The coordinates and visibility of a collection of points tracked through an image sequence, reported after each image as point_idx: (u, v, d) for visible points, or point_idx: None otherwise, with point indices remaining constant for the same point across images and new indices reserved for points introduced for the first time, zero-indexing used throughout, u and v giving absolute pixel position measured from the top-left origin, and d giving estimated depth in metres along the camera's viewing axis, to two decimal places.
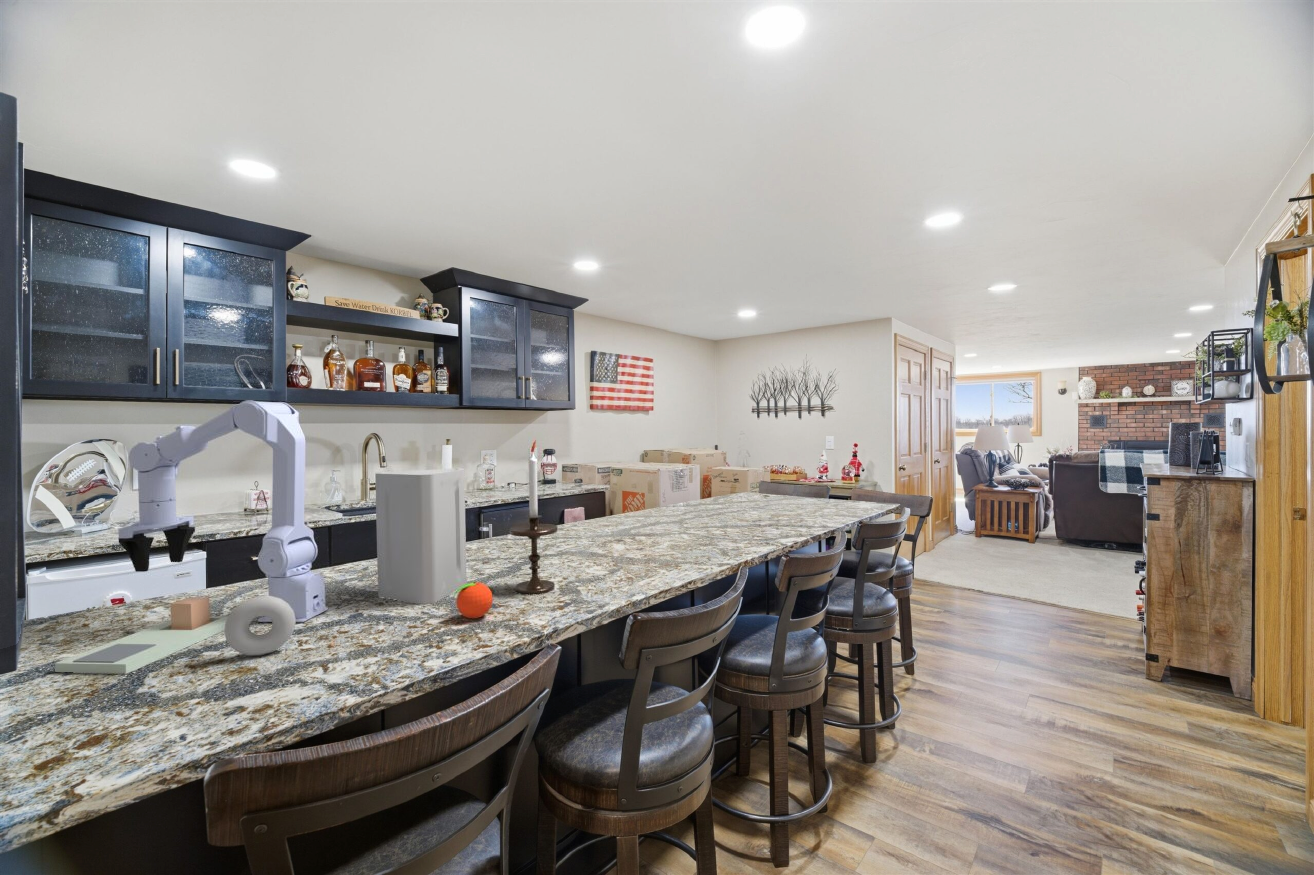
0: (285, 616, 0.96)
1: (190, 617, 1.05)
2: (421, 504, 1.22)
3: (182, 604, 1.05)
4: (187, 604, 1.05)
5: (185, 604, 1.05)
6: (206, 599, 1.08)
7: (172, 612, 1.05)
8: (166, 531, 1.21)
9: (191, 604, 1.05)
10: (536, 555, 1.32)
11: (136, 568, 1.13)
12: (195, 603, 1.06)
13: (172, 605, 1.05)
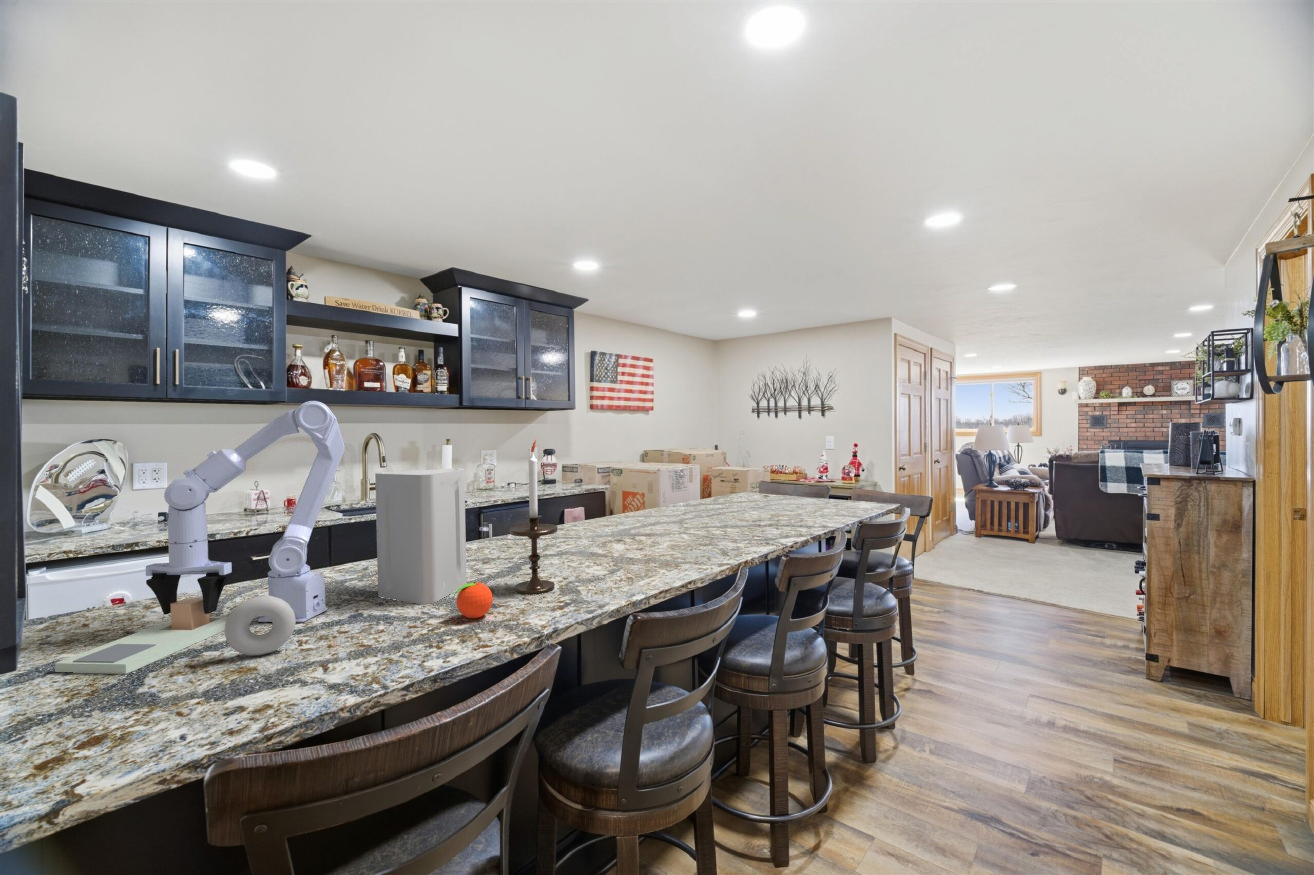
0: (286, 616, 0.96)
1: (190, 617, 1.05)
2: (421, 504, 1.22)
3: (182, 604, 1.05)
4: (187, 604, 1.05)
5: (185, 604, 1.05)
6: None
7: (172, 612, 1.05)
8: None
9: (191, 604, 1.05)
10: (536, 555, 1.32)
11: None
12: (195, 603, 1.06)
13: (172, 605, 1.05)
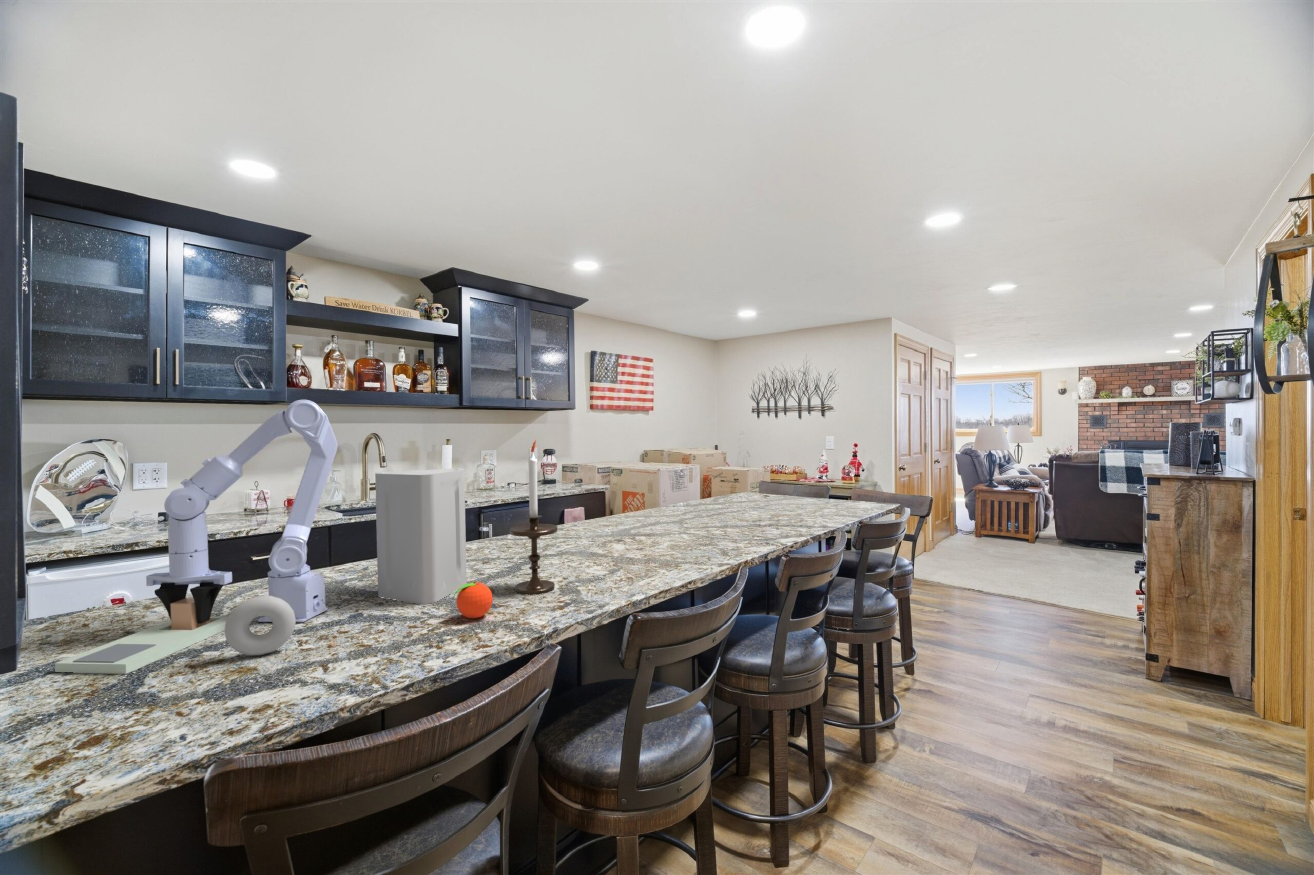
0: (285, 616, 0.96)
1: (190, 617, 1.05)
2: (421, 504, 1.22)
3: (182, 604, 1.05)
4: (187, 604, 1.05)
5: (185, 604, 1.05)
6: None
7: (172, 612, 1.05)
8: None
9: (191, 604, 1.05)
10: (536, 555, 1.32)
11: None
12: None
13: (172, 605, 1.05)
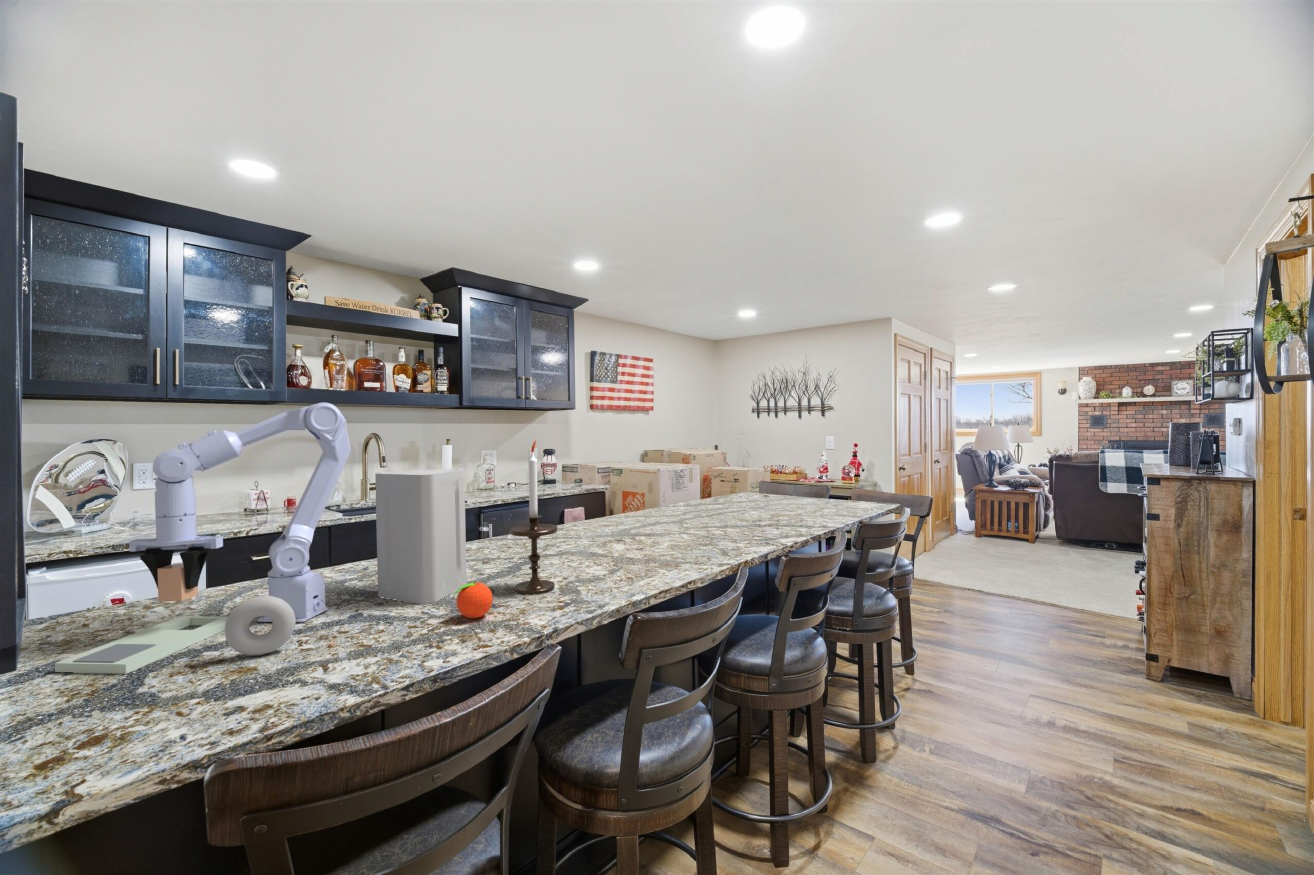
0: (285, 616, 0.96)
1: (180, 582, 1.03)
2: (421, 504, 1.22)
3: (171, 569, 1.03)
4: (176, 569, 1.03)
5: (174, 569, 1.03)
6: None
7: (159, 577, 1.03)
8: None
9: (181, 568, 1.03)
10: (536, 555, 1.32)
11: None
12: None
13: (159, 570, 1.03)
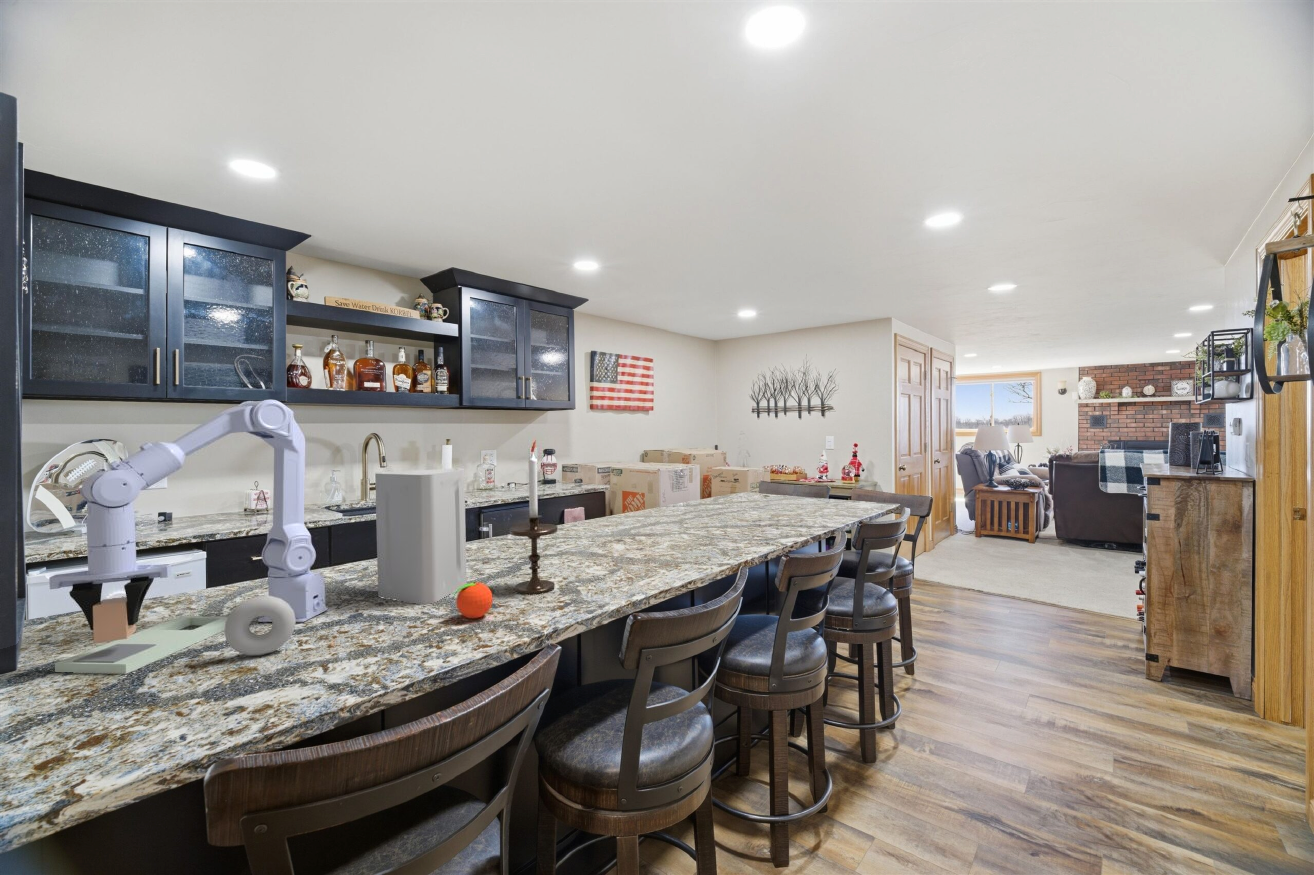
0: (285, 616, 0.96)
1: (125, 618, 0.92)
2: (421, 504, 1.22)
3: (111, 604, 0.92)
4: (119, 603, 0.92)
5: (116, 604, 0.92)
6: None
7: (95, 615, 0.91)
8: None
9: (125, 603, 0.93)
10: (536, 555, 1.32)
11: None
12: None
13: (95, 607, 0.91)
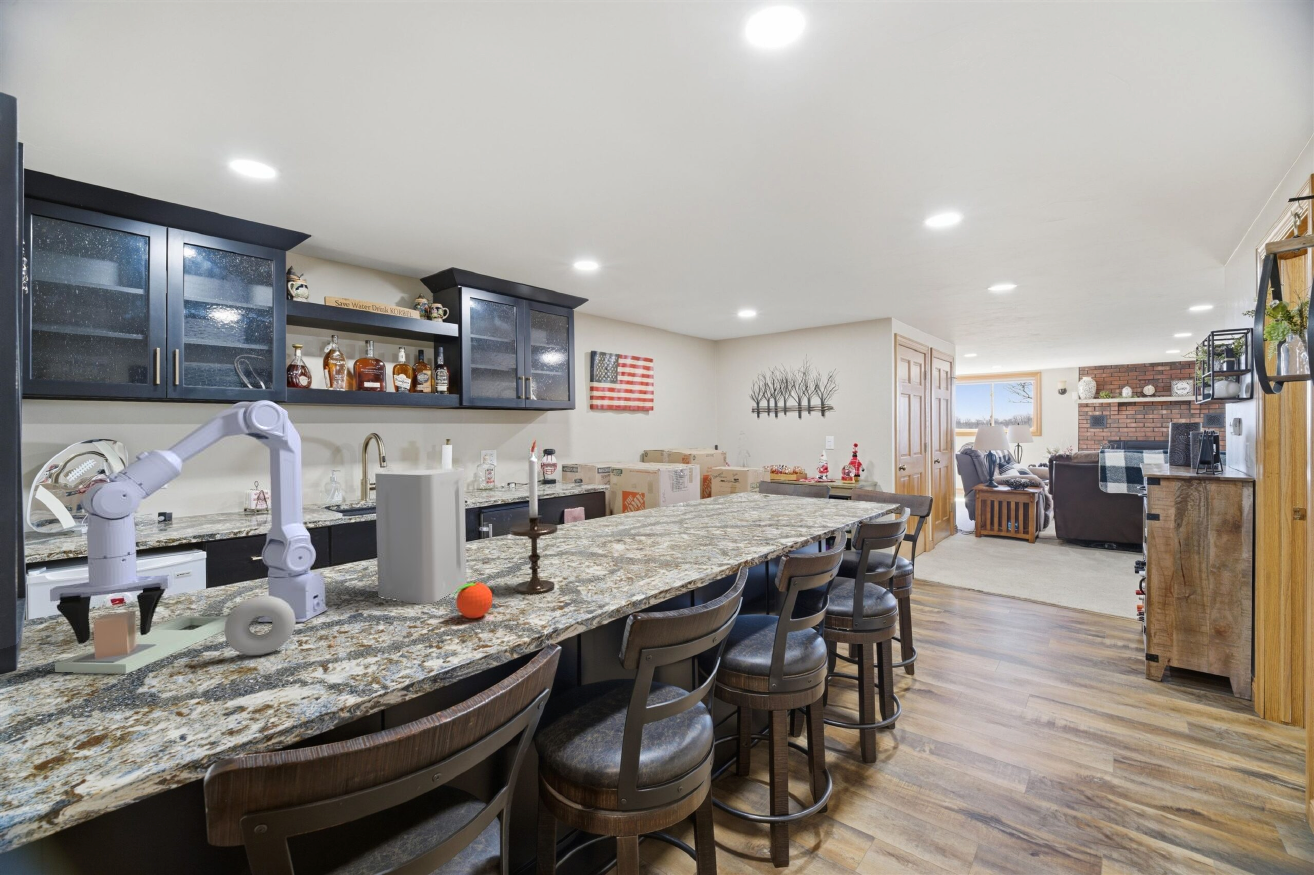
0: (285, 616, 0.96)
1: (125, 633, 0.92)
2: (421, 504, 1.22)
3: (112, 620, 0.92)
4: (120, 619, 0.92)
5: (117, 619, 0.92)
6: (134, 612, 0.95)
7: (96, 631, 0.91)
8: None
9: (126, 618, 0.93)
10: (536, 555, 1.32)
11: None
12: (128, 617, 0.93)
13: (96, 623, 0.91)
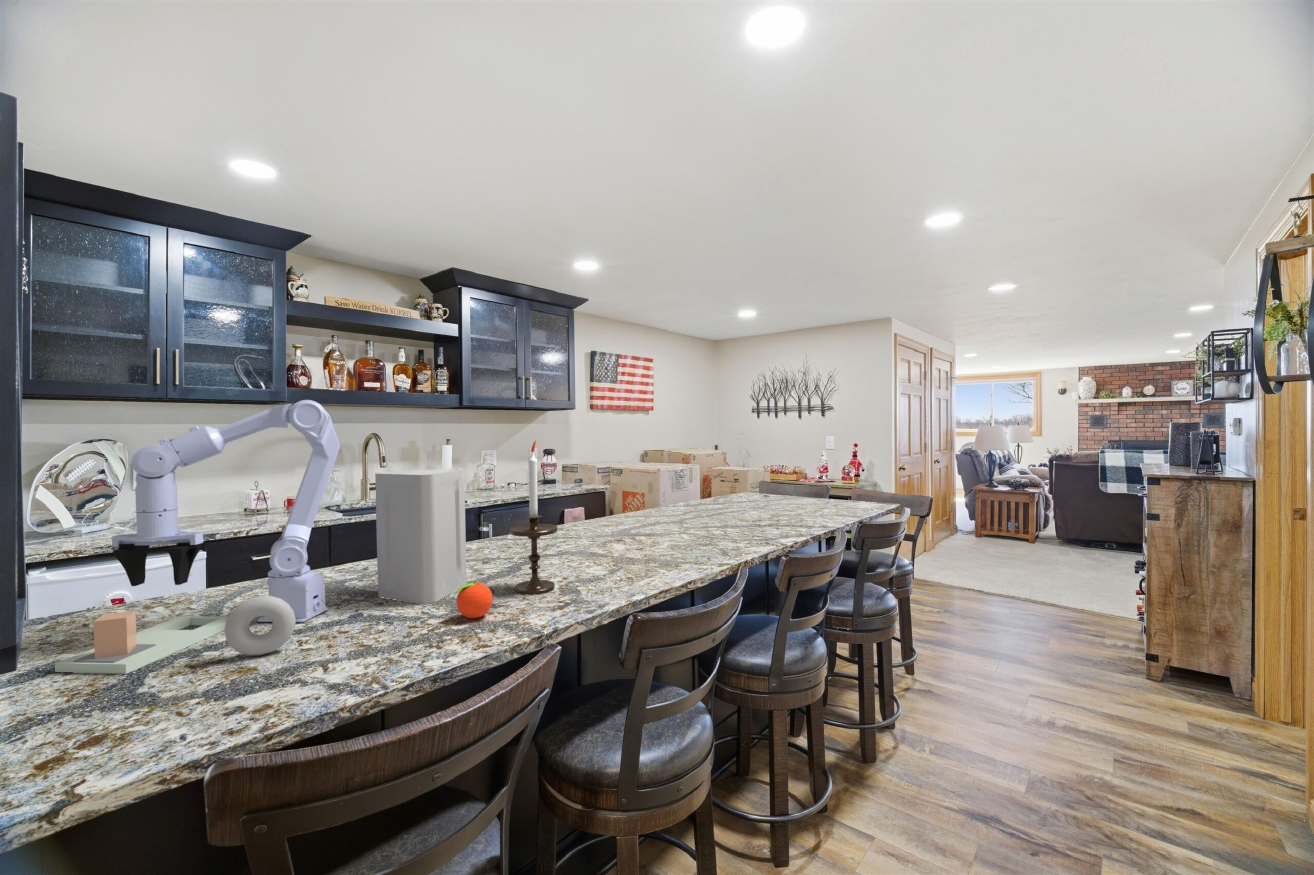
0: (285, 616, 0.96)
1: (125, 633, 0.92)
2: (421, 504, 1.22)
3: (112, 620, 0.92)
4: (120, 619, 0.92)
5: (117, 619, 0.92)
6: (134, 612, 0.95)
7: (96, 631, 0.91)
8: None
9: (126, 618, 0.93)
10: (536, 555, 1.32)
11: None
12: (128, 617, 0.93)
13: (96, 623, 0.91)
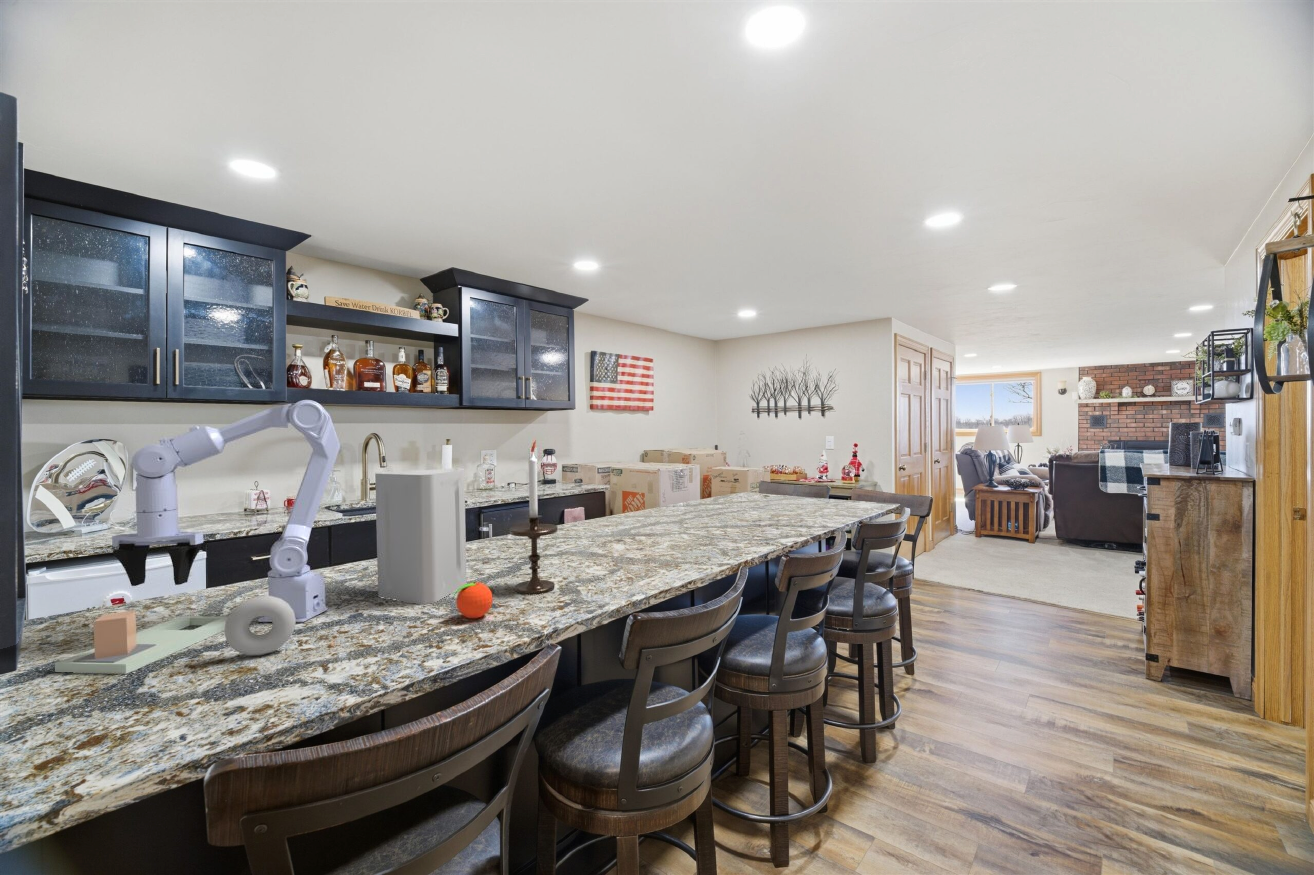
0: (286, 616, 0.96)
1: (125, 633, 0.92)
2: (421, 504, 1.22)
3: (112, 620, 0.92)
4: (120, 619, 0.92)
5: (117, 619, 0.92)
6: (134, 612, 0.95)
7: (96, 631, 0.91)
8: None
9: (126, 618, 0.93)
10: (536, 555, 1.32)
11: None
12: (128, 617, 0.93)
13: (96, 623, 0.91)
